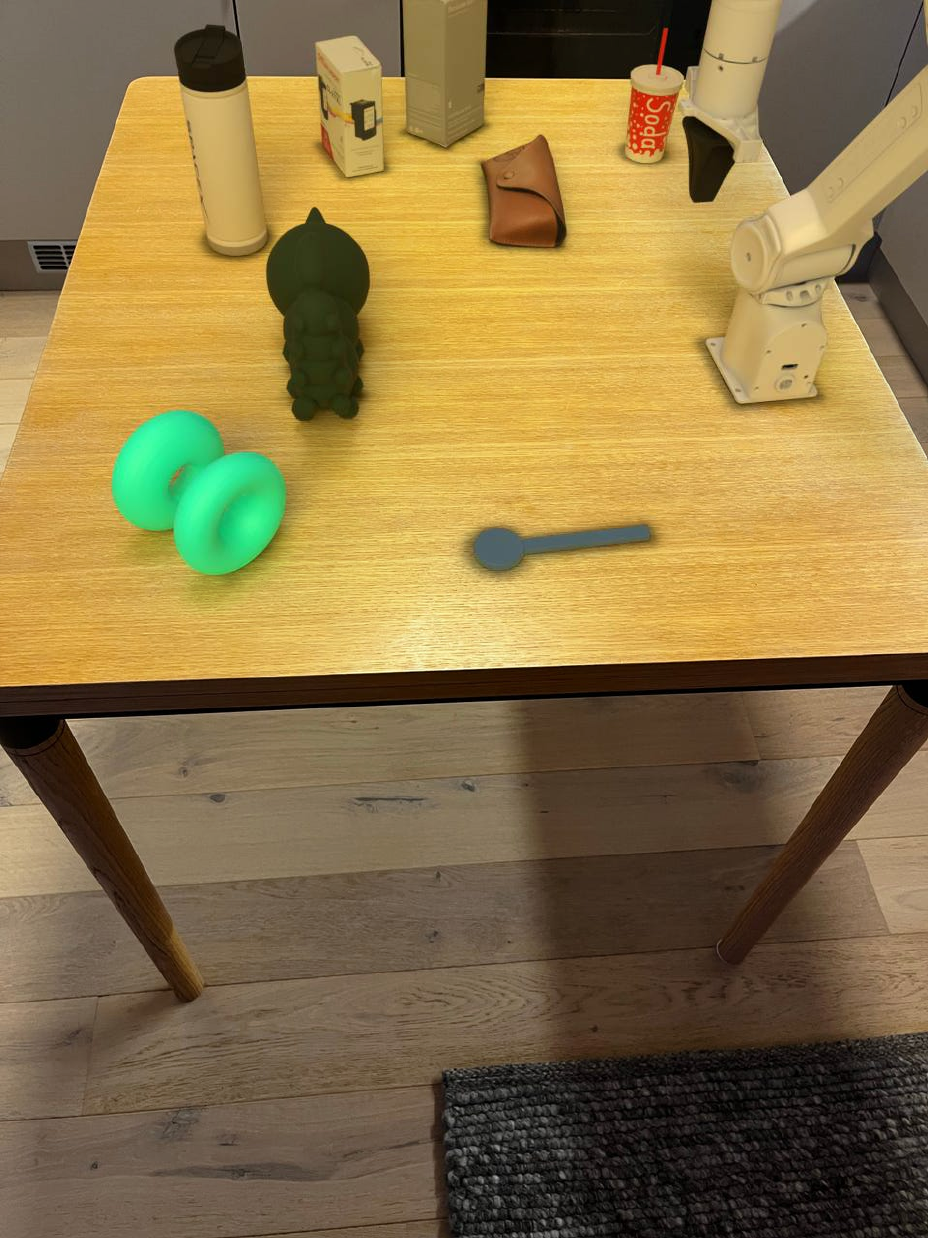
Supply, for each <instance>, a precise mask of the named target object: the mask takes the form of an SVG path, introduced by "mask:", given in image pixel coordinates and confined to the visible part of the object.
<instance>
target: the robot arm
mask: <svg viewBox="0 0 928 1238" xmlns="http://www.w3.org/2000/svg"><path fill="white" fill-rule="evenodd" d="M783 2H784V0H711V5H710V10H709V14H708V19H707V23H706V24H707V25H706V29H705V34H704V38H703V43H702V47H701V48H702V49H701V53H700V57H699V62H698V65H693V66H692V65H691V66H688V67H687V71H686V76H685V79H684V84H683V85H684V86H683V87H684V90H685V91H686V92H687V93H688V97H686V98H680V99H679V100H678V105H677V108H678V110H679V112H680V113H681V115H682V116H684V117H682V120H681V125H682V128H683V131H684V135H685V141H686V146H687V156H688V157H687V158H688V194H689V197H690V199H691V201H692V203H694V204H700V203H702V204H703V203H713V202H714V201H715V199H716V197H717V195H718V194H719V192H720V190H721V188H722V186H723V185H724V182H725V180H726V178H727V177H728V175H729V173H730V171H731V170H732V168H733V167H734V165H735V164H749V163H757V162H758V160H759V157H760V154H761V150H762V146H763V142H764V140H763V138H762V137H761V135H760V129H759V104H758V101H759V97H760V92H761V89H762V84H763V80H764V77H765V73H766V68H767V65H768V61H769V57H770V53H771V49H772V46H773V41H774V37H775V33H776V29H777V25H778V22H779V18H780V14H781V11H782V6H783ZM923 11H924V12H923V13H924V22H925V34H926V45H927V46H928V0H923ZM927 171H928V63H927V64H926V65H925V66H924V67H923V68H922V69H921V70H920V71H919V72H918V73H917V74H916V75H915V76H914V77H913V78H912V79H911V80H910V81H909V83H907V84H906V86H905V87H904V88H903V89H901V91H900V92H898V94H897V95H896V96H895V97H894V98H893V99H892V100H891V101H890V102H889V103H888V104H887V105H886V106H885V107H884V108H883V109H882V110H881V111H880V112H879V113H878V114H877V115H876V116H875V117H874V118H873V119H872V120H871V121H870V122H869V124H867V125H866V127H865V128H864V129H862V131H860V133H859V134H858V135H857V136H855V138H853V140H851V142H850V143H849V144H848V145H847V146H845V148H844V149H843V150H842V151H841V152H840V153H839V154H838V155H837V156H836V157H835V158H834V159H833V160H832V161H831V162H830V163H829V165H827V166H826V167H825V169H824V170H822V171H821V173H819V174H818V176H816V178H815V179H814V180H813V181H811V183H810V184H809V185H807V187H805V188H804V189H802V190H799V191H798V192H796V193H793V194H792V195H790V196H787V197H785V198H783V199H781V200H779V201H777V202H775V203H773V204H771V205H769V206H767V208H766V209H765V210H764V211H762V213H761V214H759V215H755V216H749V217H745V218H744V219H742V220H741V221H740V222H739V223H738V225H737V226H736V227H735V229H734V231H733V233H732V237H731V240H730V244H729V253H728V254H729V255H728V256H729V264H730V265H729V266H730V270H731V272H732V275H733V276H734V279H735V280H736V282H737V284H738V285H739V287H738V290H737V295H736V297H735V301H734V305H733V309H732V311H731V314H730V318H729V322H728V326H727V329H726V333H725V336H719V337H709V338H706V339H705V344H704V345H705V346H706V348H707V350H708V351H709V353H710V356H711V357H712V359H713V361H714V363H715V365H716V367H717V369H718V371H719V372H720V374H721V375H722V378H723V380H724V381H725V383H726V385H727V387H728V389H729V391H730V393H731V394H732V397H733V399H734V400H735V402H736V403H738V404H742V405H743V404H753V403H762V402H773V401H782V400H783V401H784V400H794V399H795V400H796V399H804V398H805V399H806V398H814V397H816V396H817V395H818V389H817V387H816V385H815V384H814V381H815V378H816V375H817V373H818V370H819V368H820V365H821V362H822V360H823V357H824V355H825V353H826V349H827V347H828V343H829V335H828V330H827V329H826V326H825V324H824V321H823V317H822V300H823V295H824V293H825V292H826V291H827V290H830V289H832V287H833V284H834V281H835V278H836V277H837V276H842V275H844V274H846V273H847V272H848V271H849V270H851V268H852V267H853V266H854V265H855V264H856V262H857V259H858V257H859V254H860V252H861V250H862V249H863V246H864V245H865V244H866V243H867V242H868V241H870V240H871V239H872V238H873V237H874V235H875V234H874V232H875V231H874V225H873V224H874V223H873V218H875V217H876V216H877V215H879V213H881V212H882V211H883V210H884V209H885V208H886V207H887V206H888V205H890V204H891V203H892V202H893V201H894V200H896V198H897V197H899V196H900V195H901V194H902V193H904V192H905V191H906V190H907V189H908V188H909V187H910V186H911V185H912V184H914V183H915V182H916V181H917V180H918V179H919V178H920V177H922V176H923V175H924V174H925V173H926V172H927Z"/></svg>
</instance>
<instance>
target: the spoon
mask: <svg viewBox="0 0 928 1238" xmlns="http://www.w3.org/2000/svg"><path fill="white" fill-rule="evenodd" d="M650 540H651V532H650V529H649V527H648V525H647V524H645V525H637V526H628V527H618V528H608V529H599V530H591V531H581V532H573V533H564V534H557V535H548V536H547V535H546V536H538V537H529V538H521V537H520V536H519V535H518V534H517V533H515V532H513V531H511V530H510V529H506V528H499V527H496V528H489V529H486V530H484V531H482V532H480V534H478V535H477V537H476V538H475V540H474V543H473V556H474V558H475V560H476V561H477V563H478V564H480V565H481V566H482V567H484V568H486V569H488V570H492V571H501V572H502V571H508V570H512V569H513V568H515V567H516V566H518V565H519V564H520V563H521V561H522V560H523V558H524V555H533V554H534V555H535V554H542V553H552V552H559V551H567V550H577V549H586V548H594V547H595V548H596V547H603V546H612V545H620V544H629V543H638V542H646V541H647V542H648V541H650Z"/></svg>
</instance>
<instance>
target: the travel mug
mask: <svg viewBox="0 0 928 1238" xmlns="http://www.w3.org/2000/svg"><path fill="white" fill-rule="evenodd" d="M173 52H174V53H173V54H174V59H175V64H176V69H177V76H178V85H179V88H180V95H181V101H182V107H183V111H184V118H185V123H186V128H187V135H188V139H189V146H190V150H191V151H190V152H191V157H192V162H193V167H194V173H195V178H196V184H197V189H198V194H199V200H200V201H199V202H200V205H201V212H202V217H203V222H204V228H205V233H206V239H207V243H208V246H209V247H210V248H211V249H212V250H213V251H215V252H216V253H218V254H221V255H225V256H229V257H243V256H248V255H251V254H254V253H256V252H258V251H259V250H261V249H262V248H263V247H265V245H266V244H267V241H268V231H267V224H266V217H265V216H266V215H265V209H264V208H265V207H264V201H263V193H262V184H261V176H260V169H259V162H258V154H257V146H256V138H255V130H254V123H253V116H252V115H253V114H252V107H251V100H250V93H249V84H248V76H247V73H246V67H245V59H244V58H245V57H244V51H243V42H242V41H241V39H240V37H238V36H237V34H235V33H234V32H231V31H229V30H226V26H225V25H220V24H209V23H208V24H205V26H204V28H200V29H195V30H191V31H189V32H187V33H185V34H183V35H182V36H180V37H179V38H178V39H177V41H176V42H175V43H174V46H173Z"/></svg>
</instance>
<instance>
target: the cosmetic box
mask: <svg viewBox="0 0 928 1238" xmlns="http://www.w3.org/2000/svg"><path fill="white" fill-rule="evenodd" d="M402 19H403V21H402V22H403V25H402V26H403V53H404V55H403V56H404V91H405V93H404V94H405V123H406V124H405V125H406V127H405V129H406V132H408V133H410V134H411V135H415V136H417V137H420V138H423V139H425V140H428V141H430V142H432V143H435V144H437V145H439V146H442V147H444V148H448V147H450V146H451V145H453V144H454V143H455V142H457V141H458V140H461V139H462V138H464V137H465V136H467V135H469V134H470V133H472V132H474V131H475V130H477V129H478V128H480V127H483V125H484V123H485V96H486V95H485V93H486V64H487V63H486V61H487V60H486V59H487V58H486V57H487V30H488V29H487V26H488V25H487V24H488V0H402Z"/></svg>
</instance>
